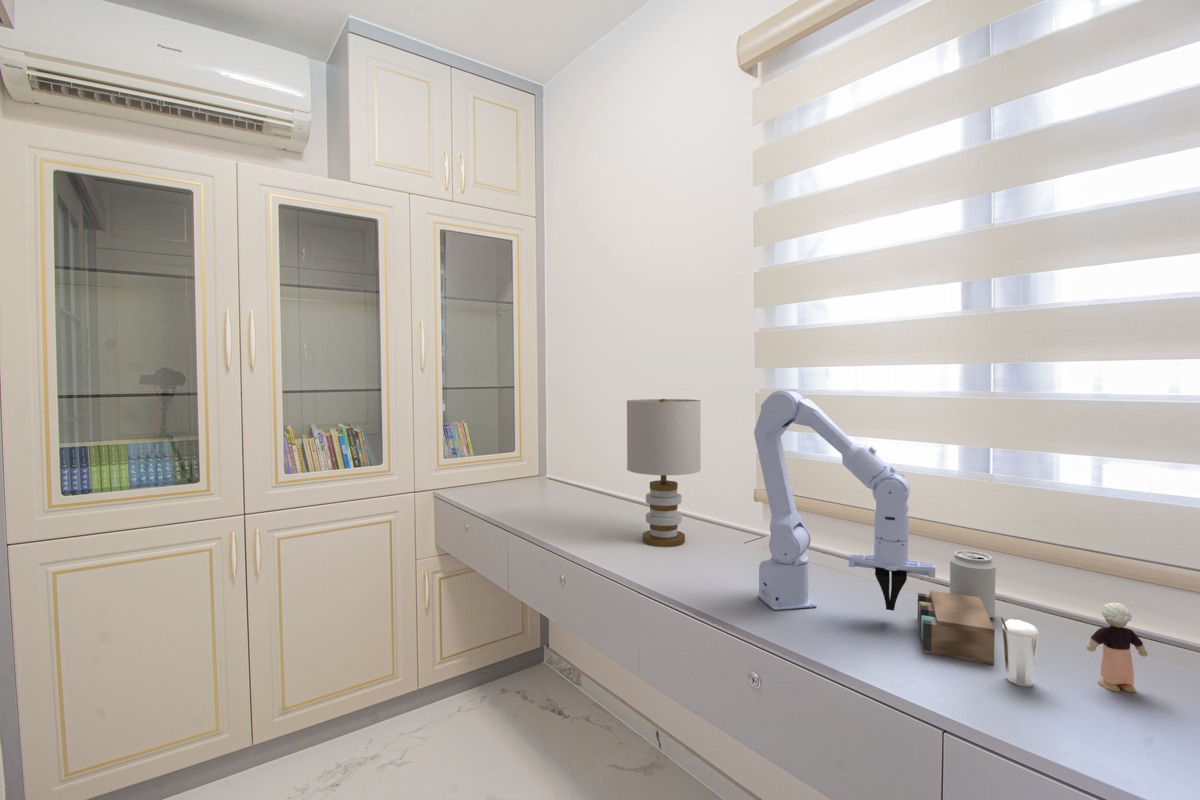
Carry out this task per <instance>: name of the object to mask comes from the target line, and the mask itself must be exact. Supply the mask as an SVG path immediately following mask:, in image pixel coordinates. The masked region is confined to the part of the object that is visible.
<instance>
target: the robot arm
mask: <svg viewBox="0 0 1200 800" xmlns="http://www.w3.org/2000/svg"><path fill="white" fill-rule="evenodd" d="M762 402H763V403H761V405H760V412H759V415H758V418H757V422H756V424H755V427H754V431H753V435H754V440H755V443H756V448H757V453H758V458H759V462H760V467H761V473H762V477H763V481H764V486H765V491H766V496H767V500H768V504H769V509H770V513H771V516H770V517H771V519H770V524H769V531H770V537H769V543H768V549H769V551H770V554H771V558H768V559H766V560H762V561H761V562H760V564H759V567H758V593H757V595H756V596H757V597H758V598H759V599H760V600H762V601H763V603H765V604H766V605H768V606H769V607H770V608H771V609H772V610H774V611H778V610H793V609H803V608H804V609H805V608H808V609H809V608H816V607H817V606H818V604H817V603H816V602H814V601H813V600H812V599H810V598H809V557H808V555H807V553H806V550H808V548H809V547H810V545H811V534H810V532H809V530H808V529H807V528H806V526H805V525H804V523H803V522H804V521H803V518H802V516H801V514H800V513H799V512H798V510H797V507H796V501H795V498H794V493H793V487H792V483H791V478H790V475H789V474H790V473H789V470H788V465H787V462H786V461H787V460H786V456H785V452H784V446H783V442H782V436H783V435H784V433H785V432H786V430H787V429H788V428H789V426H790V425H791V424H795V425H800V426H805V427H809V428H810V429H812V430H813V431H814V432H816V433H817V435H819V436H820V437H821V438H823V439H824V441H826V442H827V443H828V444H829V445H831V446H832V447H833V449H835V450H836V451H837V452H838V453H840V454H841V457H842V465H843V466H844V467H845V468H846V469H847V470H848V471H849V472H850V473H852V475H853V476H854V477H855V478H856V479H858V480H859V481H860V482H861V483H862V484H863V486H865V487H866V488H867V489H870V490H871V492H872V496H873V499H874V501H875V503H876V504H875V505H876V506H875V512H874V537H873V538H874V541H873V542H874V544H873V545H874V546H873V547H874V548H873V549H874V551H873V552H874V553H873V555H871V554H869V555H868V554H853V553H850V554H849V555H848V567H850V568H855V567H857V568H865V569H866V568H867V569H872V570H873V569H874V575H875V578H876V581H877V582H878V584H879V587H880V589H881V592H882V594H883V598H884V602H885V609H886V611H887V610H888V611H893V612H894V611H895V607H896V603H897V599H898V597H899V594H900V592H901V590H902V589H903V587H904V585H905V584H906V582H907V580H908V579H907V578H908V574H912V575H920V576H927V577H929V578H936V565H935V564H933V563H927V562H922V561H917V560H912V559H909V521H910V519H909V514H908V511H909V504H908V499H909V495H910V494H911V493H910V492H911V486H910V484H909V481H908V479H906V477H905V475H904V474H902V473H900V472H897V469H896V468H895V467H894V465H892V466H889V464H887V463H886V462H885V461H884V459H882V458H881V457H879V455H878V454H876V453H877V451H878V450H877V448H875V447H874V446H868V445H867V444H866V443H855V442H854V441H853V440H852V439H851V438H850V437H849V436H848V435H847V434H846V433H845V432H844V431H843V430H842V429H841V428H840V427H839V426H838V425H837V424H836V423H835V422H834V421H833V420H832V419H831V418H830V417H829V416H828V415H827V414H826V413H825V412H824V411H823V410H822V409H821V408H820V407H819V406H818V405H817V404H816V403H814V401H812V400H811V399H810V398H806V397H805V395H804V394H803V393H802V392H801V391H798V390H795V389H789V390H777V391H776V390H775V391H774V392H772V393H771V394H770V395H768V396H767V398H766V399H765V400H764V401H762ZM890 573H891V574H890ZM890 575H891V577H890ZM890 579H891V580H890ZM890 581H891V582H890ZM890 583H891V585H890ZM890 589H891V590H890Z"/></svg>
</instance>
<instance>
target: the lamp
mask: <svg viewBox="0 0 1200 800" xmlns="http://www.w3.org/2000/svg"><path fill="white" fill-rule="evenodd" d="M701 468H702V467H701V400H700V399H688V398H687V399H685V398H684V399H682V398H681V399H680V398H677V399H676V398H673V399H672V398H658V399H657V398H656V399H655V398H653V399H652V398H649V399H648V398H647V399H628V400H626V470H627V471H628V472H630V473H635V474H640V475H649V476H660V479H658V480H653V481H650V482H649V492H648V493H646V494H645V503H646V504H648V505H649V512H647V513H646V514H645V522H646V523H647V524H648V525H649V527H650V530H646V531H644V532H643V533H642V542H643V544H644V543H645V544H646V545H649V546H653V547H661V548H672V547H679V546H681V545H683V544H685V542H686V535H685V533H684V532H681V531H680V530H678V527H679V525H680V524H682V522H683V521H682V514H681V513H679V512H678V508H679V507H678V506H679V505H681V503H682V501H683V499H682V497H683V496H682V495H681V494H680V493H678V487H679V486H678V482H677V481H675V480H667V476H682V475H691V474H696V473H697V474H698V473H700V472H701V470H702V469H701Z"/></svg>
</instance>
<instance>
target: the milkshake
mask: <svg viewBox="0 0 1200 800" xmlns="http://www.w3.org/2000/svg"><path fill="white" fill-rule="evenodd" d="M1000 619H1001V622H1002V625H1001V629H1002V638H1003V639H1002V640H1003V650H1004V665H1005V666H1004V667H1005V668H1004V669H1005V679H1007V681H1008V682H1009V683H1012V684H1013V685H1015V686H1020V687H1024V688H1025V687H1032V686H1033V685H1034V679H1035V669H1036V659H1037V658H1036V657H1037V651H1038V645H1039V639H1040V638H1039V637H1040V632H1039V630H1038V629H1037V627H1036V626H1035V625H1033V624H1031V623H1029V622H1026V621H1023V620H1021V619H1013V618H1009V619H1007V620H1006V621H1005V619H1004V618H1003V617H1000Z"/></svg>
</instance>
